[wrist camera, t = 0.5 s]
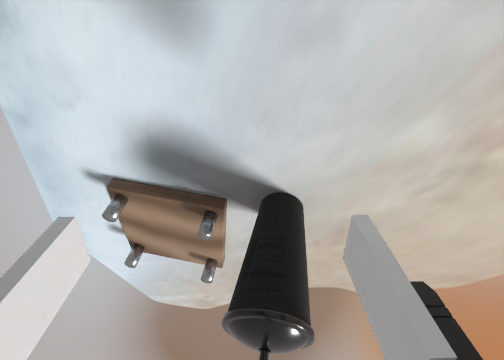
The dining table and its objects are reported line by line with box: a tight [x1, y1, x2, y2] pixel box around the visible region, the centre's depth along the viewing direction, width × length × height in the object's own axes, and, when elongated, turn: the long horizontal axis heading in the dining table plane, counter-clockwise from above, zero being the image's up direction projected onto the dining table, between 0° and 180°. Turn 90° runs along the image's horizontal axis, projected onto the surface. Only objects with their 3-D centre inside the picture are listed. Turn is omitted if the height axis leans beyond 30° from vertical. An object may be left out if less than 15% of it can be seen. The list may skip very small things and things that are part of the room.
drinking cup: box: [222, 193, 314, 360], centre depth 26 cm, size 8×8×20 cm
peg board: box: [102, 179, 227, 283], centre depth 37 cm, size 14×14×4 cm
